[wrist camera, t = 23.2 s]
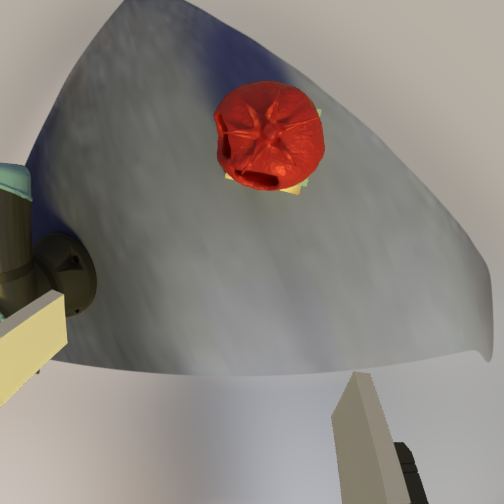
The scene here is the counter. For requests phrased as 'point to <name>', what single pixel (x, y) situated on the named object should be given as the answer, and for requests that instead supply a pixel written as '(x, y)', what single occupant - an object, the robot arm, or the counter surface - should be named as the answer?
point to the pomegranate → (268, 135)
